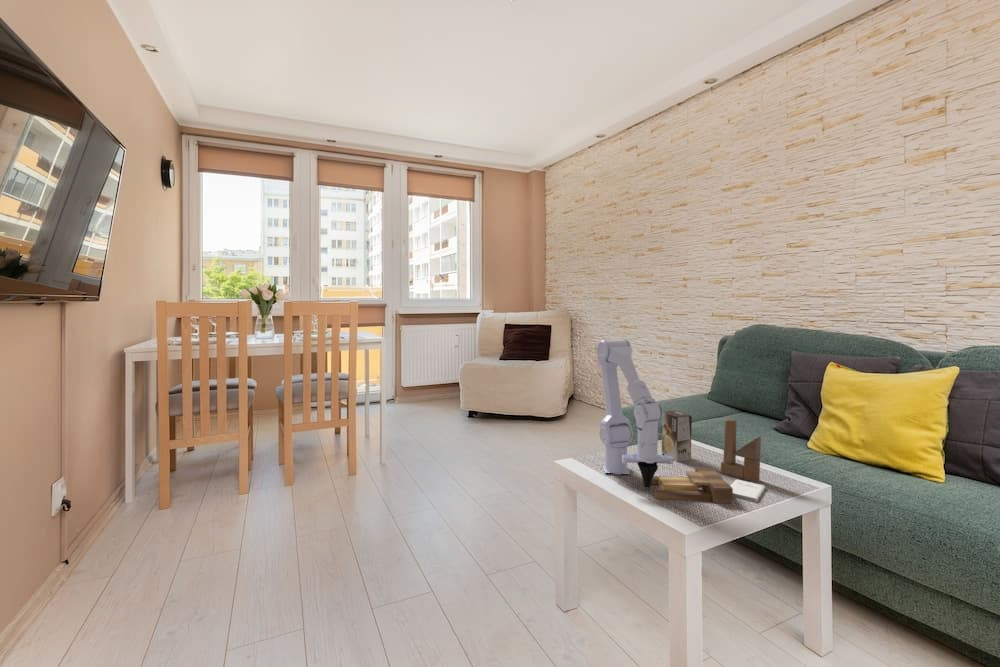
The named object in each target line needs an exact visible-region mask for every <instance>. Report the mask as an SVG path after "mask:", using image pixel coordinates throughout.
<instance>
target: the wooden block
mask: <svg viewBox="0 0 1000 667" xmlns="http://www.w3.org/2000/svg"><path fill="white" fill-rule="evenodd" d="M723 422H724V423H723V425H724V426H723V456H722V457H723V461H722V462H721V463H720V473H721V474H723V475H727V476H731V477H734V478H737V479H740V480H741V479H742V480H743V481H747V482H751V481H752V482H751V483H757V482H758V481H760V477H761V476H760V472H761V470H760V468H761V448H762V447H761V443H762V441H761V439H762V436H758V437H755V438H754V439H752V440H751V441H750V442H748V443H747V444H745V445H744V446H743V447H741V448H739V449H737V423H738V422H737V420H736V419H735V418H725V419H724V421H723ZM736 456H737V457H741V458H744V459H743V464H741V463H739V462H738V463H737V462H736V458H737V457H736ZM756 481H757V482H756Z"/></svg>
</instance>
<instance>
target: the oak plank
mask: <svg viewBox="0 0 1000 667" xmlns="http://www.w3.org/2000/svg"><path fill="white" fill-rule="evenodd" d="M679 477H680V476H664V477H658V484H657V485H659V486H658V487H659V489H660V488H661V489H660V490H670V491H699V490H700V489H699V487H700V486H699V485H695V484H694V483H693V482H692V481H691V480H690V478H679ZM699 492H700V491H699Z"/></svg>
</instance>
